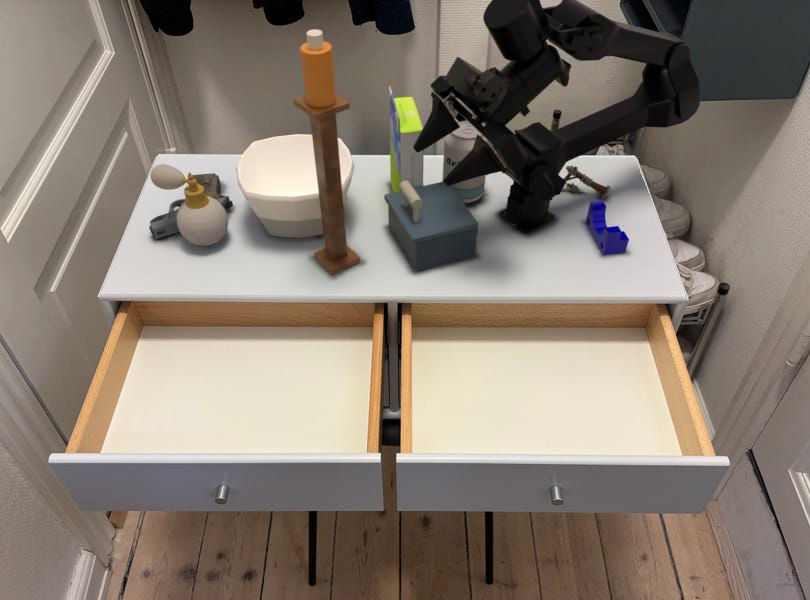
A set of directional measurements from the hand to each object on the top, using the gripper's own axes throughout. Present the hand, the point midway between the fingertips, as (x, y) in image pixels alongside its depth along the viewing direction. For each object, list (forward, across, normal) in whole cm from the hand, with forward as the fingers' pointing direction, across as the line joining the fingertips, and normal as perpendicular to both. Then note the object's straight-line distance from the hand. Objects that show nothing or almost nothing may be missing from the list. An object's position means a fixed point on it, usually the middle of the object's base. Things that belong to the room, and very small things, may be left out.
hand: (429, 166), depth 90 cm
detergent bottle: (+5, -3, -17) cm, 18 cm away
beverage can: (-1, -10, +18) cm, 21 cm away
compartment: (+7, -1, +12) cm, 14 cm away
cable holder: (-13, +9, +26) cm, 31 cm away
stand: (+19, -3, +4) cm, 20 cm away
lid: (+4, -1, +8) cm, 9 cm away
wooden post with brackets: (-16, -2, +29) cm, 33 cm away
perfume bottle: (+33, -17, -6) cm, 38 cm away
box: (+6, -13, +13) cm, 19 cm away
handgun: (+33, -32, -7) cm, 47 cm away
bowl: (+20, -16, +3) cm, 26 cm away
